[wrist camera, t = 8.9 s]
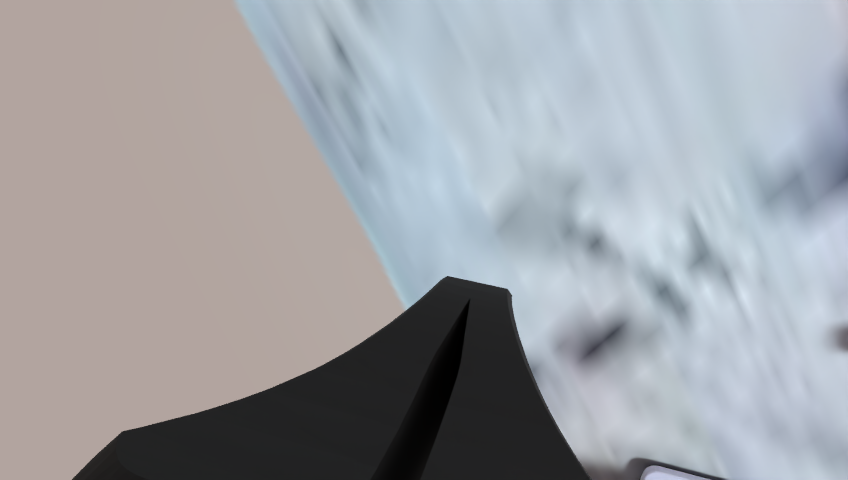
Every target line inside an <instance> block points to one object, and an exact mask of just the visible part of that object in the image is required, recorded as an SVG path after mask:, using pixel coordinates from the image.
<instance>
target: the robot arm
mask: <svg viewBox="0 0 848 480" xmlns="http://www.w3.org/2000/svg"><path fill="white" fill-rule="evenodd" d="M72 480H592V479H591V478H590V476H589V475H588V473H587V472H586V471H585V469H584V468H583V466H582V465H581V464H580V462H579V461H578V459H577V458H576V456H575V454H574V453H573V451H572V449H571V448H570V446H569V445H568V443H567V441H566V440H565V438H564V436H563V435H562V433H561V431H560V429H559V428H558V426H557V424H556V422H555V420H554V418H553V417H552V415H551V413H550V411H549V409H548V407H547V405H546V403H545V401H544V399H543V397H542V395H541V392H540V390H539V388H538V386H537V383H536V381H535V379H534V376H533V374H532V372H531V369H530V367H529V364H528V361H527V359H526V356H525V353H524V350H523V347H522V344H521V341H520V338H519V334H518V331H517V327H516V323H515V319H514V314H513V308H512V295H511V293H510V292H509V290H508V289H505V288H500V287H496V286H491V285H487V284H482V283H477V282H473V281H468V280H463V279H459V278H454V277H449V276H447V277H445V278H443V279H442V280H441V281H439V282H438V283H437V284H436V285H435V286H434V287H433V288H432V289H431V290H430V291H429V292H428V293H427V294H425V295H424V296H423V297H422V298H421V299H420V300H418V301H417V302H416V303H415V304H414V305H412V306H411V307H410V308H409V309H407V310H406V311H405V312H404V313H402V314H401V315H400V316H398V317H397V318H396V319H395V320H393V321H392V322H391V323H390V324H388V325H387V326H385V327H384V328H382V329H381V330H379V331H378V332H376V333H375V334H374V335H372V336H371V337H369V338H368V339H366V340H365V341H363V342H362V343H360V344H359V345H357V346H355V347H354V348H352V349H350V350H349V351H347V352H345V353H344V354H342V355H340V356H338V357H337V358H335V359H333V360H331V361H329V362H327V363H326V364H324V365H322V366H320V367H318V368H316V369H314V370H312V371H309V372H307V373H305V374H302V375H300V376H298V377H296V378H293V379H291V380H289V381H286V382H284V383H282V384H279V385H277V386H275V387H273V388H270V389H267V390H265V391H262V392H259V393H257V394H254V395H251V396H249V397H246V398H243V399H240V400H237V401H234V402H231V403H228V404H225V405H222V406H218V407H216V408H212V409H209V410H205V411H202V412H199V413H195V414H191V415H187V416H183V417H180V418H176V419H172V420H168V421H164V422H160V423H156V424H152V425H148V426H144V427H140V428H136V429H132V430H127V431H123V432H121V433H120V434H119V435H118V436H117V437H116V438H115V439H114V440H112V441H111V442H110V443H109V444H108V445H107V446H106V447H105V448H104V449H103V450H101V451H100V452H99V453H98V454H97V455H96V456H95V457H94V458H93V459H92V460H91V461H90V462H89V463H88V464H87V465H86V466H85V467H84V468H83V469H82V470H81V471H80V472H79V473H78V474H77V475H76V476H75V477H74V478H73V479H72ZM640 480H710V479H706V478H703V477H699V476H695V475H691V474H687V473H683V472H680V471H676V470H672V469H668V468H664V467H660V466H649V467H647V468H646V469H645V470H644V472H643V474H642V476H641V479H640Z"/></svg>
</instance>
